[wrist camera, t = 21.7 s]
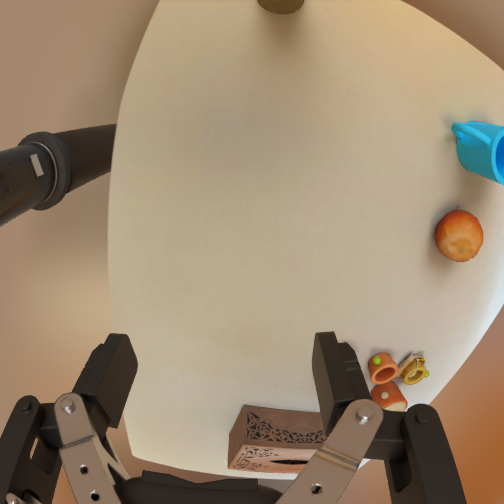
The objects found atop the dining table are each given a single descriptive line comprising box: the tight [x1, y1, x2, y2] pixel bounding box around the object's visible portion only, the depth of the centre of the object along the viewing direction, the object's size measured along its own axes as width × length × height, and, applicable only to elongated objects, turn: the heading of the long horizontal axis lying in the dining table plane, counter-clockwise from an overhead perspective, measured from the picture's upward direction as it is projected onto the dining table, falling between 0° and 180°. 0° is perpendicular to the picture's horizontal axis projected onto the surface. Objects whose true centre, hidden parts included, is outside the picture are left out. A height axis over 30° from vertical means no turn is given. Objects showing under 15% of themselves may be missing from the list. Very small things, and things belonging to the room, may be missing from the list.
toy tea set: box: [369, 353, 429, 412], centre depth 48 cm, size 26×16×10 cm, turn 71°
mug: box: [452, 121, 504, 185], centre depth 30 cm, size 12×8×8 cm
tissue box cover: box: [228, 405, 330, 473], centre depth 56 cm, size 26×14×10 cm, turn 75°
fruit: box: [436, 205, 483, 262], centre depth 37 cm, size 8×8×8 cm
